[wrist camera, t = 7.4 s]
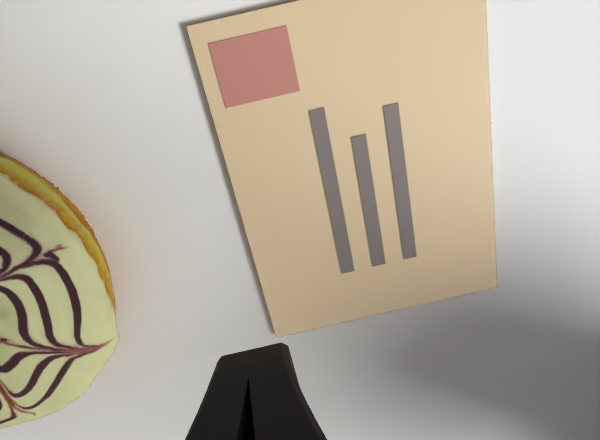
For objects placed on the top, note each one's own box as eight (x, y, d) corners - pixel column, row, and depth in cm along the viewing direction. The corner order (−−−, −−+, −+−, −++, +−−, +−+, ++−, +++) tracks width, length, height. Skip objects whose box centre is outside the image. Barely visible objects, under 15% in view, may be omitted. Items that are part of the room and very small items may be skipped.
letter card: (495, 284, 22) (497, 287, 21) (276, 334, 22) (276, 338, 21) (482, -43, 16) (485, -43, 16) (186, 25, 16) (186, 26, 16)
